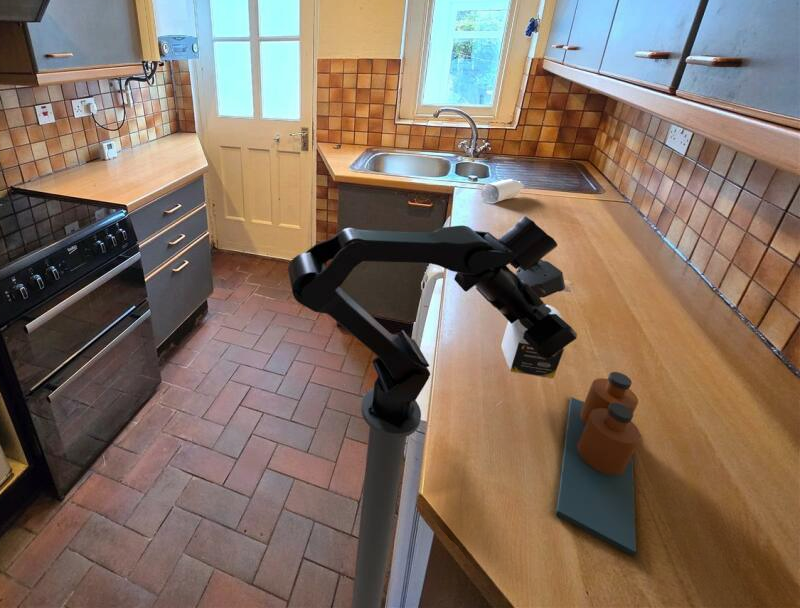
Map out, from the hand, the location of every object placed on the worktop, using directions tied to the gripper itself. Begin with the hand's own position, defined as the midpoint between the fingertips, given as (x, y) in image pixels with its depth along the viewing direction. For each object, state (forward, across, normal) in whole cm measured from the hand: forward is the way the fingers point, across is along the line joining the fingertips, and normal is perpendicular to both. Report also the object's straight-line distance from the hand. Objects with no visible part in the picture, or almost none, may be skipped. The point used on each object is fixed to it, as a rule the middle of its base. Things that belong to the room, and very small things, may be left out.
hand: (543, 333), depth 72 cm
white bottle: (+45, +93, -29) cm, 108 cm away
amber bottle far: (+12, -10, +3) cm, 16 cm away
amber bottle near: (+9, -16, +7) cm, 19 cm away
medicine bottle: (+4, 0, +6) cm, 7 cm away
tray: (+9, -16, +8) cm, 20 cm away
